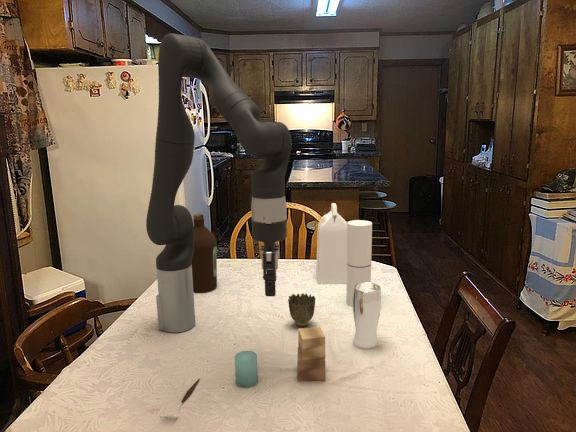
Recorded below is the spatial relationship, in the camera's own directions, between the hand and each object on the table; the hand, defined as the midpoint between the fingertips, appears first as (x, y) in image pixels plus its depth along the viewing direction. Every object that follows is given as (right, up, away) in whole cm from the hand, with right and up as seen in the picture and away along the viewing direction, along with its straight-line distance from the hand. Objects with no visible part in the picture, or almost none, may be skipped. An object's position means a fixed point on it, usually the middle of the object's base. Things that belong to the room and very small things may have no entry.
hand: (271, 288), depth 104 cm
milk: (+20, -6, +60) cm, 63 cm away
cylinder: (-5, -20, -2) cm, 21 cm away
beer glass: (+23, -16, +14) cm, 32 cm away
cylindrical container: (+25, -11, +38) cm, 47 cm away
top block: (+9, -14, 0) cm, 17 cm away
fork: (-17, -22, -8) cm, 29 cm away
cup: (+8, -14, +24) cm, 29 cm away
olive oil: (-25, -8, +52) cm, 58 cm away
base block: (+9, -19, +1) cm, 21 cm away
